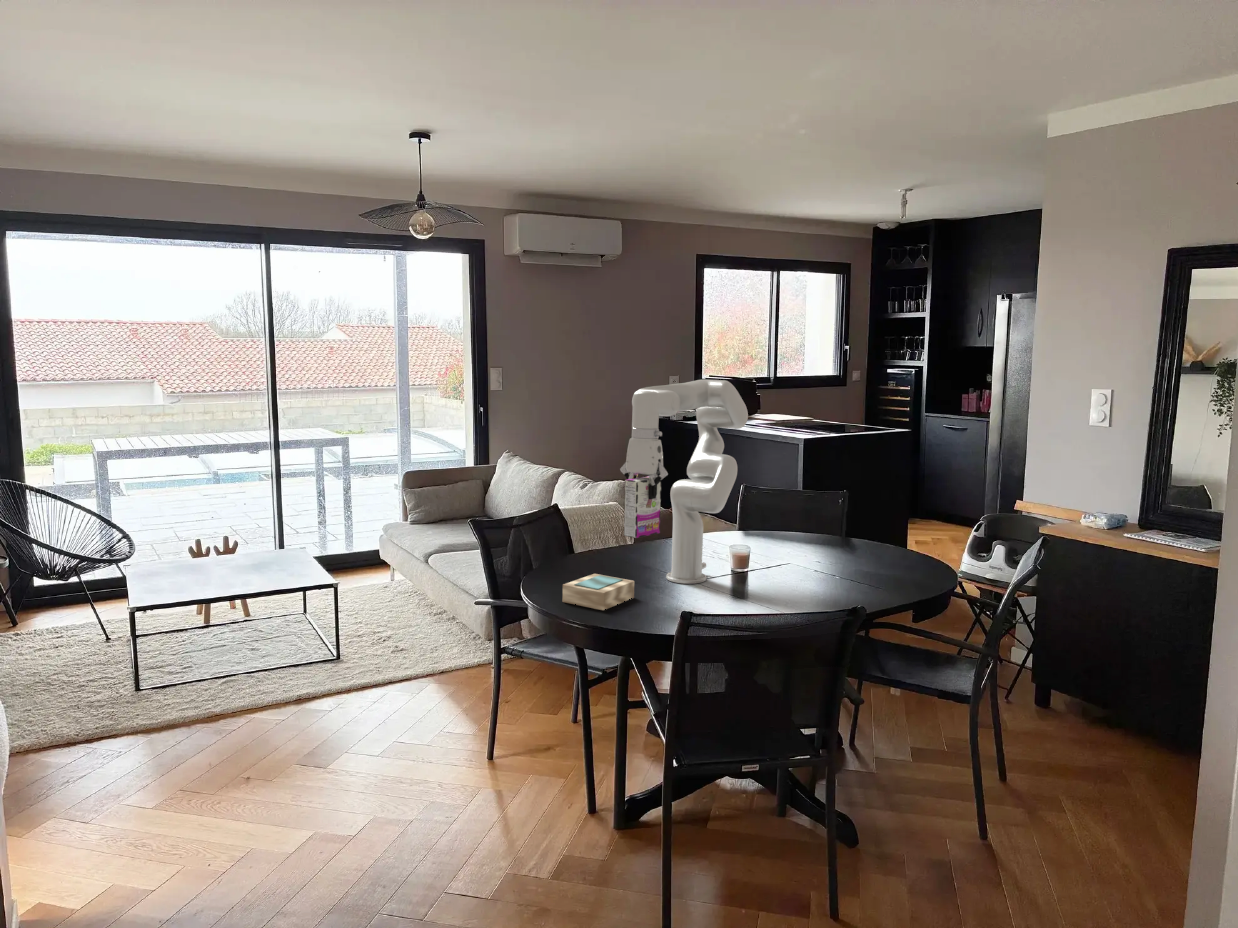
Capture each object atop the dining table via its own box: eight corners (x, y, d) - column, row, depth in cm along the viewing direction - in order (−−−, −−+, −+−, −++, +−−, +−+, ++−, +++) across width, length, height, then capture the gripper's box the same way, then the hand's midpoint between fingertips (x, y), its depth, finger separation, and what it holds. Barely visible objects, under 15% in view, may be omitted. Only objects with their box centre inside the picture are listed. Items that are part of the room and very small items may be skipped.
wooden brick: (594, 589, 275) (594, 572, 274) (634, 597, 268) (634, 579, 267) (562, 601, 262) (562, 583, 261) (603, 610, 254) (603, 591, 254)
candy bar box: (647, 530, 271) (649, 475, 269) (660, 533, 268) (662, 477, 266) (622, 535, 262) (624, 478, 260) (635, 538, 259) (638, 480, 257)
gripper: (677, 435, 260) (675, 499, 263) (625, 431, 269) (623, 493, 271) (665, 437, 254) (662, 502, 256) (612, 433, 263) (610, 495, 265)
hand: (642, 496), depth 264 cm, fingers closed on candy bar box, 5 cm apart
